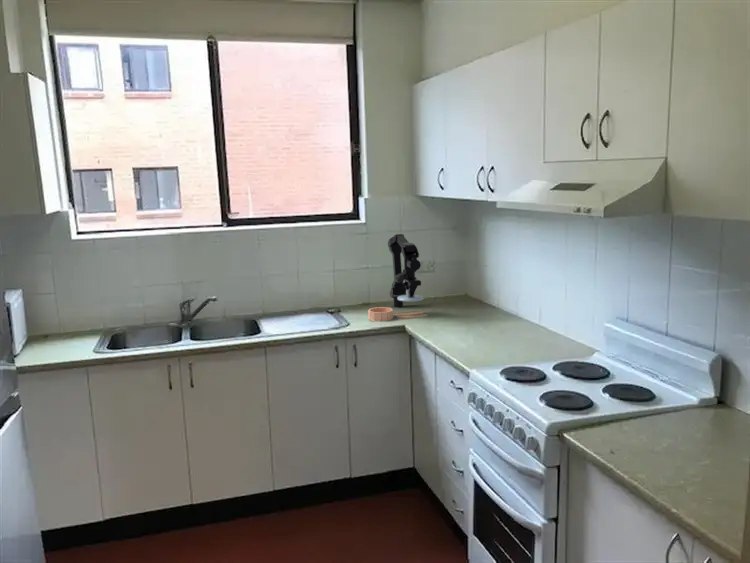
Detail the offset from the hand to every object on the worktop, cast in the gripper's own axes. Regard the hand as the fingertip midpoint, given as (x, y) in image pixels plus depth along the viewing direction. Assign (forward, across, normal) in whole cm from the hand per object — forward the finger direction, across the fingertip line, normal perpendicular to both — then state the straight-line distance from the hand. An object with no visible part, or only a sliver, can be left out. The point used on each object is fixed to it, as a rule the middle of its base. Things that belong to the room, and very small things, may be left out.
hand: (410, 296), depth 339 cm
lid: (+2, 0, 0) cm, 2 cm away
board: (+11, 0, 0) cm, 11 cm away
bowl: (+11, 0, -17) cm, 20 cm away
